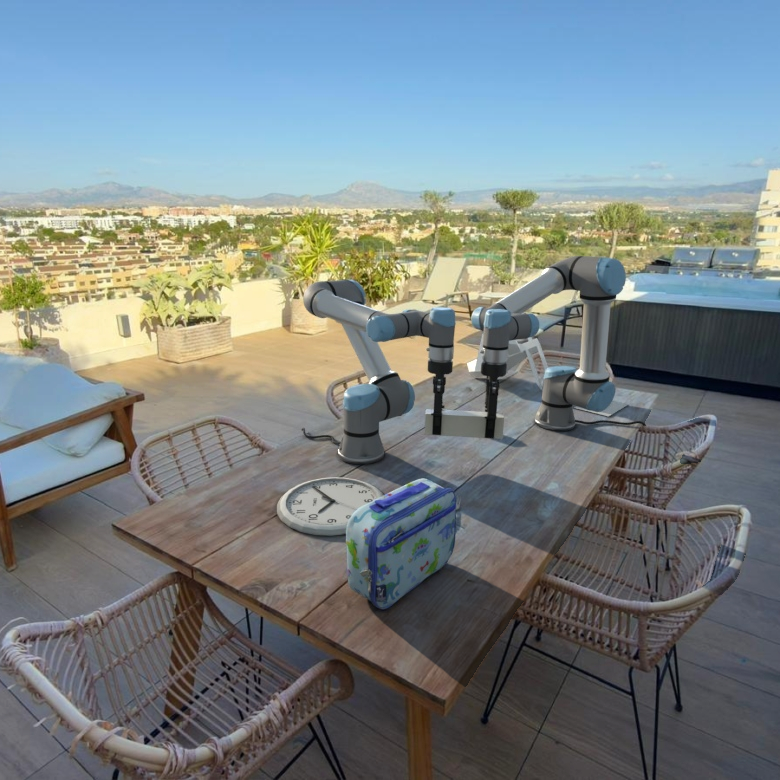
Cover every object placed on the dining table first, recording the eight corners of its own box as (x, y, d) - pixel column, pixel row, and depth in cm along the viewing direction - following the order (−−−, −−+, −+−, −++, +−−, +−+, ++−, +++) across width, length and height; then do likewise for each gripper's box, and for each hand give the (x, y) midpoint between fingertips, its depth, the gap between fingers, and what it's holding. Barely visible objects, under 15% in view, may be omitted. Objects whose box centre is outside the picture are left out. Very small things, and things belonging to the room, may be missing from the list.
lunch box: (375, 622, 100) (376, 527, 94) (339, 595, 108) (338, 505, 101) (459, 565, 118) (465, 481, 112) (424, 545, 125) (427, 465, 119)
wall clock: (392, 527, 129) (269, 531, 127) (392, 533, 130) (269, 537, 127) (383, 473, 158) (282, 475, 155) (383, 478, 158) (283, 480, 156)
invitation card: (608, 416, 214) (573, 407, 224) (608, 416, 214) (573, 407, 224) (627, 404, 229) (594, 396, 238) (627, 405, 229) (594, 397, 239)
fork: (437, 530, 132) (438, 523, 131) (452, 500, 146) (452, 494, 145) (447, 532, 131) (448, 525, 130) (461, 502, 145) (462, 496, 144)
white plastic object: (488, 419, 266) (468, 396, 241) (469, 346, 288) (449, 319, 263) (559, 395, 254) (545, 368, 229) (533, 321, 276) (519, 290, 251)
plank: (501, 433, 165) (503, 412, 163) (502, 439, 161) (504, 417, 159) (425, 429, 168) (426, 408, 166) (424, 434, 163) (425, 413, 161)
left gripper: (429, 352, 167) (426, 420, 174) (426, 366, 150) (423, 441, 157) (453, 353, 166) (449, 422, 173) (452, 367, 149) (448, 442, 156)
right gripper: (480, 353, 166) (475, 421, 173) (483, 369, 147) (477, 444, 154) (504, 354, 165) (498, 422, 172) (510, 370, 146) (503, 446, 153)
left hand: (436, 431), depth 165 cm, fingers closed on plank, 4 cm apart
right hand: (488, 433), depth 163 cm, fingers open, 7 cm apart
